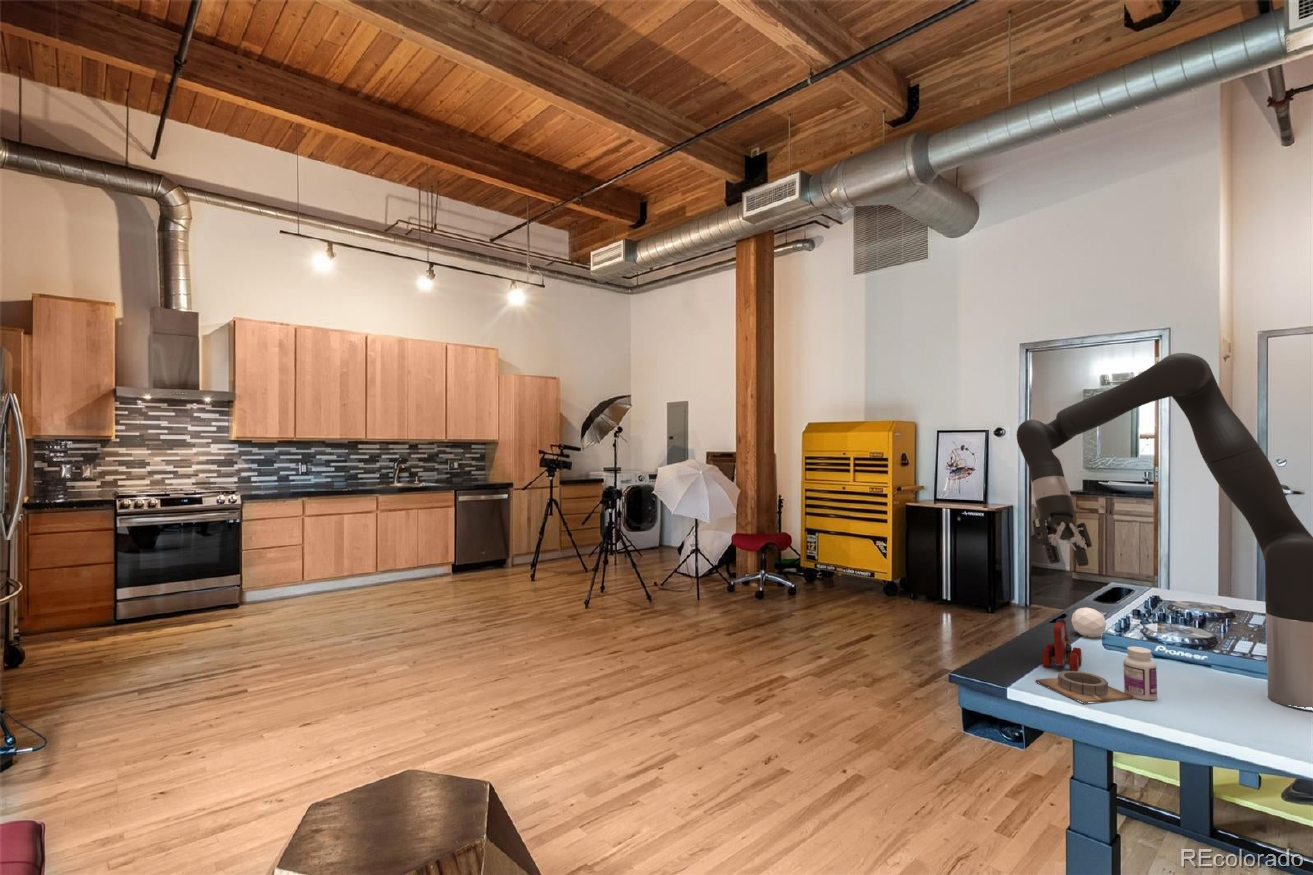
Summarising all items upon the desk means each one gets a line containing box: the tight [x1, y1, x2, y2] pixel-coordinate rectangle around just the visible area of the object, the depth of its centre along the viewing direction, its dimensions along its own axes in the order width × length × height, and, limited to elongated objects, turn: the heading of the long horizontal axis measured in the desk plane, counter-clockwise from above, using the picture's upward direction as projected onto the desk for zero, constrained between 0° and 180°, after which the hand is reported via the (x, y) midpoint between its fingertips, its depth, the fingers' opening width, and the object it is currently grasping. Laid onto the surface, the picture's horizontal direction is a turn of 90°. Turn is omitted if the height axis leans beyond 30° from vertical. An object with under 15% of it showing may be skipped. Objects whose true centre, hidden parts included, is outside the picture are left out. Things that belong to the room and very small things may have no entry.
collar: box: [1035, 670, 1134, 703], centre depth 132 cm, size 12×12×3 cm
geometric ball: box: [1071, 607, 1107, 639], centre depth 169 cm, size 8×8×8 cm
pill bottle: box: [1122, 645, 1158, 701], centre depth 129 cm, size 5×5×10 cm
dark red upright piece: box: [1041, 618, 1083, 671], centre depth 147 cm, size 7×12×10 cm, turn 140°
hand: (1069, 564), depth 145 cm, fingers open, 8 cm apart
